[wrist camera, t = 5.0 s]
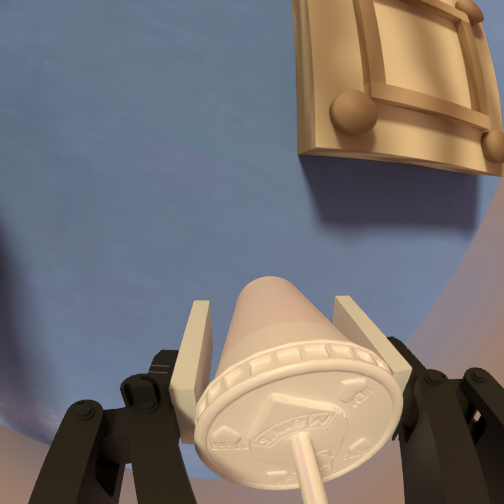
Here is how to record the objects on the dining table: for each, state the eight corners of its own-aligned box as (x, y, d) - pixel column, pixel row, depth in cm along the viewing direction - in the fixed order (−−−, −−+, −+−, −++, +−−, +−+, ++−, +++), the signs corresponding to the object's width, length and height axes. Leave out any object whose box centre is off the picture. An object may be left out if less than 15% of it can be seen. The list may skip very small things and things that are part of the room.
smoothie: (300, 232, 15) (515, 443, 2) (337, 327, 17) (458, 528, 3) (191, 282, 16) (104, 555, 2) (242, 368, 17) (257, 594, 4)
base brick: (297, 154, 19) (321, 144, 13) (289, -20, 16) (302, -64, 10) (466, 174, 20) (515, 177, 14) (446, 22, 16) (482, 1, 10)
